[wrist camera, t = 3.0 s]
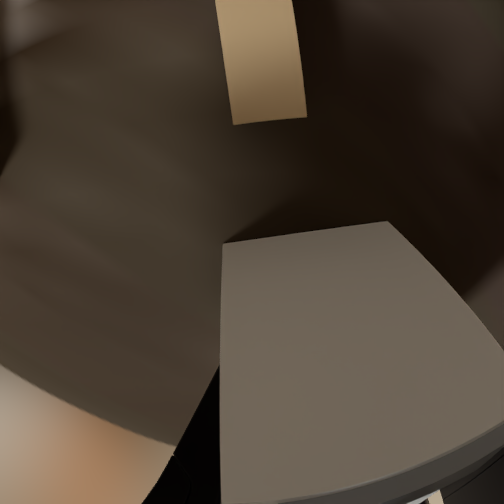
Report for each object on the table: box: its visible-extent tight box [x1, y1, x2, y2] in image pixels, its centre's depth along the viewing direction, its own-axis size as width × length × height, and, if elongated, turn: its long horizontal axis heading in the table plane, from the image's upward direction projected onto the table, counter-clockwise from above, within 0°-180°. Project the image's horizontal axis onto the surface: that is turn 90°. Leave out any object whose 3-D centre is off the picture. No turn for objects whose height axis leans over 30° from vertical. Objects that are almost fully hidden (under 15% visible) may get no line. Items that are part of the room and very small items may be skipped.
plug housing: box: [220, 221, 504, 504], centre depth 6 cm, size 6×4×6 cm
